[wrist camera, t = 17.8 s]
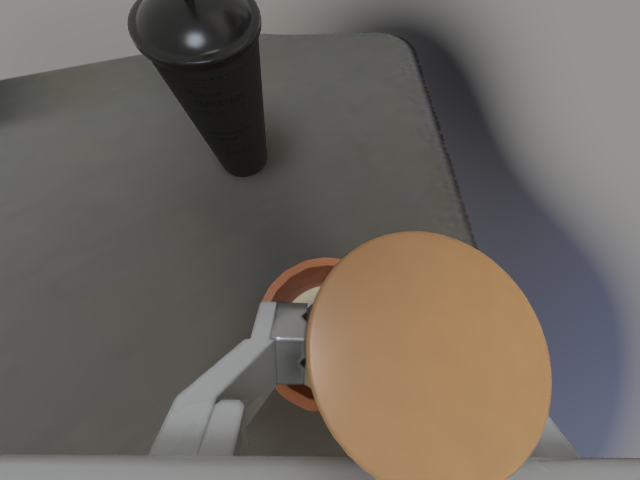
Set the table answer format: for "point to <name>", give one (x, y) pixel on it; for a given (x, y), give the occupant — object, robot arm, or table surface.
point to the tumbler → (287, 291)
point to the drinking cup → (210, 70)
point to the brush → (427, 360)
